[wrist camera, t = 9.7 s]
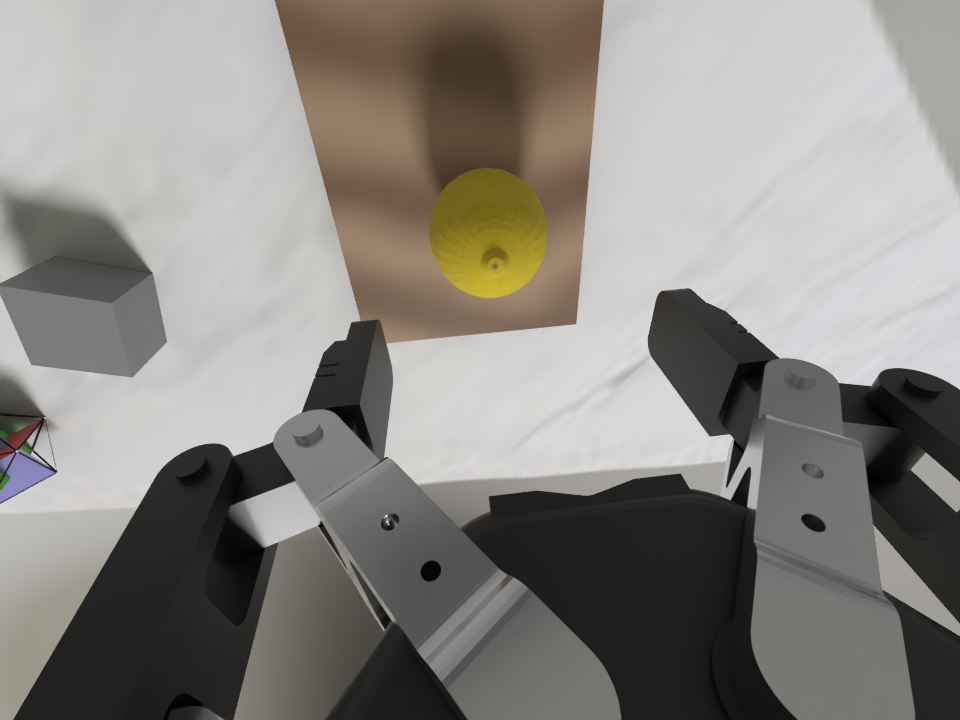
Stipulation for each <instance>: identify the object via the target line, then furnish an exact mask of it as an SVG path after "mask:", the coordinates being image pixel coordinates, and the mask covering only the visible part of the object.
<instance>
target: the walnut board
mask: <svg viewBox="0 0 960 720" xmlns="http://www.w3.org/2000/svg"><path fill="white" fill-rule="evenodd" d="M275 2H276V6H277V9H278V13H279V17H280V21H281V24H282V28H283V32H284V35H285V39H286V43H287V47H288V50H289V54H290V58H291V62H292V65H293V69H294V73H295V77H296V80H297V84H298V88H299V91H300V95H301V99H302V103H303V106H304V110H305V114H306V118H307V121H308V125H309V129H310V132H311V136H312V140H313V144H314V147H315V151H316V155H317V159H318V162H319V166H320V170H321V173H322V177H323V181H324V185H325V188H326V192H327V196H328V200H329V203H330V207H331V211H332V215H333V218H334V222H335V226H336V229H337V233H338V237H339V241H340V244H341V248H342V252H343V256H344V259H345V263H346V267H347V270H348V274H349V278H350V282H351V285H352V289H353V293H354V297H355V300H356V304H357V308H358V312H359V315H360V319H361V321H367V320H377V319H379V320H380V322H381V325H382V328H383V332H384V337H385V341H386V343H393V342H403V341H413V340H423V339H433V338H443V337H453V336H463V335H473V334H482V333H492V332H502V331H512V330H522V329H532V328H542V327H552V326H562V325H572V324H576V320H577V308H578V297H579V285H580V273H581V261H582V250H583V238H584V226H585V215H586V203H587V191H588V179H589V168H590V156H591V144H592V132H593V121H594V109H595V97H596V85H597V74H598V62H599V50H600V39H601V27H602V15H603V3H604V0H275ZM481 168H494V169H501V170H504V171H506V172H509V173H511V174H513V175H516V176H517V177H519V178H520V179H521V180H522V181H524V182H525V183H526V184H527V185H528V186H530V188H531V189H532V190H533V192H534V193H535V195H536V196H537V198H538V199H539V200H540V203H541V205H542V208H543V211H544V214H545V217H546V223H547V234H548V239H547V245H546V251H545V256H544V258H543V260H542V263H541V265H540V267H539V269H538V270H537V272H536V273H535V274H534V276H533V277H532V278H531V280H530V281H529V282H528V283H527V284H525V285H524V286H523V287H522V288H521V289H519V290H517V291H515V292H513V293H511V294H509V295H505V296H501V297H497V298H482V297H477V296H473V295H470V294H468V293H466V292H464V291H462V290H460V289H458V288H457V287H456V286H455V285H453V284H452V283H451V282H450V281H449V280H448V279H447V278H446V277H445V275H444V274H443V273H442V271H441V270H440V268H439V267H438V265H437V263H436V261H435V258H434V256H433V253H432V251H431V246H430V239H429V224H430V216H431V212H432V210H433V207H434V205H435V202H436V200H437V198H438V196H439V195H440V193H441V192H442V191H443V189H444V188H445V187H446V185H448V184H449V183H450V182H451V181H453V180H454V179H455V178H456V177H458V176H459V175H461V174H464V173H466V172H468V171H470V170H474V169H481Z"/></svg>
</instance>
